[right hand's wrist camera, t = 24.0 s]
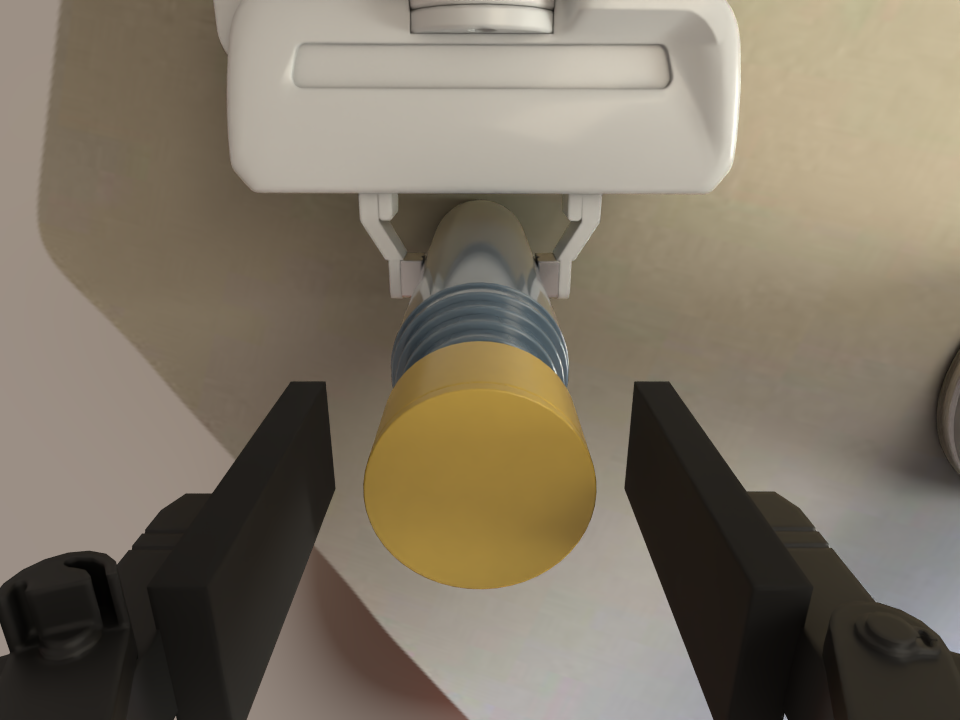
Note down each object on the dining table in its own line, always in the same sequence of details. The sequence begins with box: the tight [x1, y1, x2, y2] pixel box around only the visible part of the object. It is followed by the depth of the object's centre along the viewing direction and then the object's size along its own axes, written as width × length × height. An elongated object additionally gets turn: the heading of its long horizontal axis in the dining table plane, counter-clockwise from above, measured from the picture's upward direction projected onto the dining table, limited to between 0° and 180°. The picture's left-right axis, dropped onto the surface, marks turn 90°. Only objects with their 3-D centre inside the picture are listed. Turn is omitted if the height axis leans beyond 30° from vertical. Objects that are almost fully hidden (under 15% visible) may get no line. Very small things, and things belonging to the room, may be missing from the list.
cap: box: [363, 341, 596, 589], centre depth 14 cm, size 4×4×3 cm
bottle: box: [391, 200, 569, 388], centre depth 24 cm, size 5×5×24 cm
